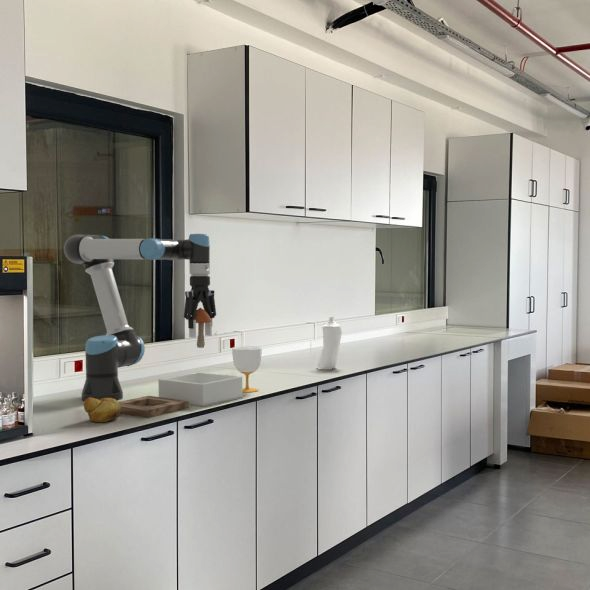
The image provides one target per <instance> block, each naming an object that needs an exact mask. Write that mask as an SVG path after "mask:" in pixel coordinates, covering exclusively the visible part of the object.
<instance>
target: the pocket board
mask: <svg viewBox="0 0 590 590" xmlns="http://www.w3.org/2000/svg"><path fill="white" fill-rule="evenodd" d="M118 403H119V404H120V406H121V412H120V414H119V415H126V416H132V417H139V418H146V419H147V418H148V419H149V418H153V417H156V416H157V417H158V416H161V415H165V414H166V415H167V414H171V413H174V412H175V413H176V412H179V411H183V410H188V409H190V405H189V401H184V400H176V399H169V398H162V397H159V396H155V395H154V396H151V395H146V396H141V397H135V398H131V399H130V398H129V399H125V400H120V401H118Z"/></svg>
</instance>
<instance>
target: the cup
mask: <svg viewBox="0 0 590 590" xmlns="http://www.w3.org/2000/svg"><path fill="white" fill-rule="evenodd" d="M231 351H232V362H233V365H234V367H235V369H236V370H237V371H238V372H239V373H241V374H243V375H244V376H245V387H244V388H243V387H242V393H255V392H258V391H259V389H258V388H253V387H249V376H250V375H251V374H253V373H254V372H256V371H258V369H259V368H260V365H261V362H262V347H261V346H235V347H232V348H231Z"/></svg>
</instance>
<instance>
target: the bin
mask: <svg viewBox="0 0 590 590" xmlns="http://www.w3.org/2000/svg"><path fill="white" fill-rule="evenodd" d="M242 388H243V376H237V375H229V374H222V373H221V374H219V373H209V372H199V371H198V372H193V373H187V374H181V375H175V376H170V377H164V378H159V379H158V397H162V398H169V399H176V400H184V401H189V406H192V407H193V406H195V407H200V408H204V407H210V406H213V404H214V405H217V403H218V404H222V403H226V401H227V402H230V401H234V400H239V399H243V392H242Z"/></svg>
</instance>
